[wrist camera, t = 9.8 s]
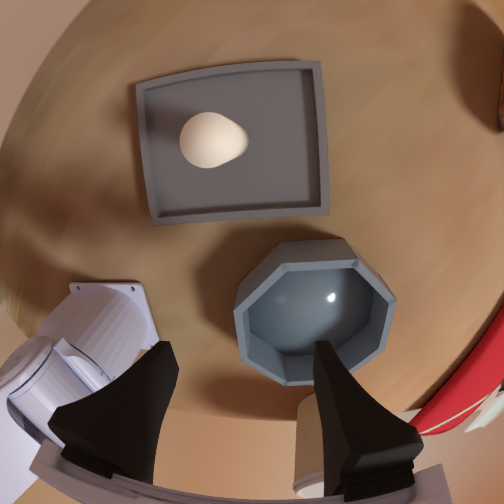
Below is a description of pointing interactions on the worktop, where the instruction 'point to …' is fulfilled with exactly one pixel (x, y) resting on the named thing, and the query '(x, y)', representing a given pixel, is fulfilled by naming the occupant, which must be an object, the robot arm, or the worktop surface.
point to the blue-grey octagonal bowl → (311, 309)
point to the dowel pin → (212, 140)
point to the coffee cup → (309, 451)
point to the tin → (501, 99)
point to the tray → (257, 154)
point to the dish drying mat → (466, 384)
